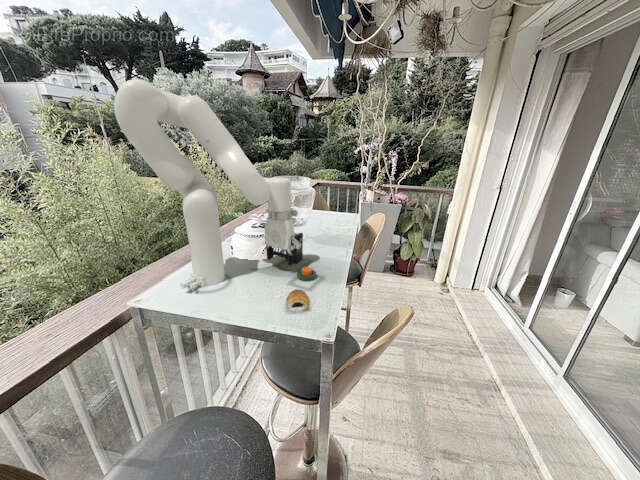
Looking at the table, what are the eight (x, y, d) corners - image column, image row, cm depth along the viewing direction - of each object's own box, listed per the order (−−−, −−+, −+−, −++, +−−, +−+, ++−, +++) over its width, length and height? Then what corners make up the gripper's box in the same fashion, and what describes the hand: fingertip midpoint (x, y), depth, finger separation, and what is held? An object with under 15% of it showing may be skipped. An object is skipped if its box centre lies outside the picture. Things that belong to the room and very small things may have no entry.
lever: (286, 260, 94) (285, 255, 92) (272, 256, 96) (271, 251, 95) (303, 239, 102) (302, 234, 100) (290, 236, 104) (288, 231, 103)
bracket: (295, 272, 98) (295, 240, 94) (275, 266, 102) (275, 235, 97) (311, 261, 108) (312, 231, 104) (292, 256, 112) (292, 227, 108)
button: (308, 277, 90) (308, 272, 89) (299, 274, 91) (299, 269, 91) (313, 272, 93) (313, 268, 92) (304, 270, 94) (304, 266, 94)
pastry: (287, 294, 84) (287, 284, 82) (308, 294, 84) (308, 284, 83) (286, 312, 75) (286, 301, 74) (309, 312, 76) (310, 300, 74)
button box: (309, 290, 87) (309, 281, 86) (289, 283, 90) (288, 275, 89) (323, 277, 95) (323, 270, 94) (304, 272, 99) (304, 264, 98)
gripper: (252, 213, 90) (254, 259, 96) (295, 221, 83) (295, 271, 89) (266, 209, 97) (267, 252, 103) (307, 216, 89) (306, 262, 95)
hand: (280, 261), depth 96 cm, fingers open, 8 cm apart
